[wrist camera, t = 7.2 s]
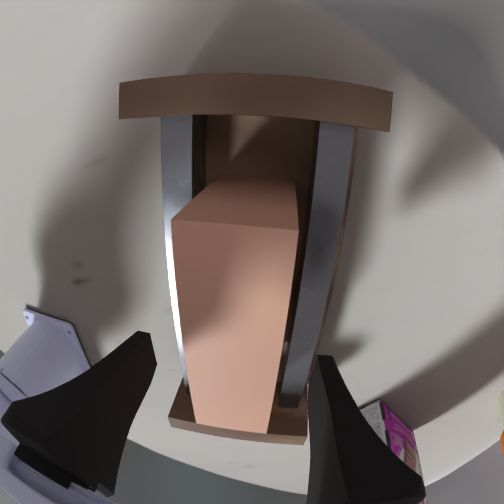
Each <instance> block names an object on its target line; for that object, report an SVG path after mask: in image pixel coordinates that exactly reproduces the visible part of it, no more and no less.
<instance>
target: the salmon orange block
mask: <svg viewBox="0 0 504 504" xmlns="http://www.w3.org/2000/svg"><path fill="white" fill-rule="evenodd" d="M298 233H299V226H298V212H297V200H296V188H295V181H288V180H277V179H265V178H252V177H237V176H220V175H219V176H218V177H217V178H216V179H215V180H214V181H212V182H211V183H210V184H209V185H208V186H207V187H206V188H205V189H203V190H202V191H201V192H200V193H199V194H198V195H197V196H196V197H194V198H193V199H192V200H191V201H190V202H189V203H188V204H187V205H186V206H185V207H183V208H182V209H181V210H180V211H179V212H178V213H177V214H176V215H175V216H174V217H173V218H172V219H171V235H172V249H173V262H174V273H175V284H176V294H177V303H178V312H179V320H180V328H181V335H182V343H183V350H184V356H185V363H186V369H187V376H188V382H189V387H190V393H191V399H192V404H193V409H194V415H195V420H196V423H198V424H203V425H208V426H214V427H219V428H226V429H232V430H239V431H247V432H255V433H265V434H266V433H267V428H268V423H269V418H270V413H271V408H272V403H273V397H274V392H275V387H276V381H277V375H278V370H279V364H280V358H281V352H282V346H283V340H284V334H285V327H286V321H287V314H288V308H289V301H290V294H291V287H292V280H293V273H294V265H295V257H296V250H297V242H298Z"/></svg>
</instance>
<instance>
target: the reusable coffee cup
mask: <svg viewBox="0 0 504 504" xmlns="http://www.w3.org/2000/svg"><path fill="white" fill-rule="evenodd" d="M496 409H497V413H498V417H499V421H500V425H501V430H502V435H501V438H500V439H501V444H502V449H503V456H504V392H503V393H502V394H501V395H500V397H499V398H498V400H497V402H496Z"/></svg>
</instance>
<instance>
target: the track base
mask: <svg viewBox="0 0 504 504" xmlns="http://www.w3.org/2000/svg"><path fill="white" fill-rule="evenodd" d="M392 97H393V92H390V91H386V90H381V89H377V88H372V87H367V86H362V85H356V84H351V83H345V82H338V81H332V80H325V79H317V78H308V77H298V76H286V75H271V74H236V73H230V74H196V75H181V76H169V77H159V78H150V79H143V80H135V81H129V82H123V83H120V88H119V119H127V118H139V117H155V116H161V161H162V192H163V211H164V227H165V240H166V252H167V263H168V273H169V283H170V291H171V300H172V308H173V315H174V323H175V330H176V336H177V343H178V349H179V355H180V361H181V367H182V373H183V378H182V381H181V384H180V386H179V389H178V391H177V394H176V397H175V399H174V402H173V405H172V407H171V410H170V413H169V415H168V419H169V422H170V425H171V427H176V428H180V429H184V430H189V431H194V432H198V433H204V434H209V435H214V436H220V437H227V438H233V439H240V440H248V441H257V442H266V443H278V444H293V445H304V443H305V441H306V438H307V427H308V392H307V384H308V381H309V378H310V374H311V371H312V367H313V364H314V360H315V357H316V353H317V349H318V346H319V342H320V338H321V334H322V330H323V326H324V322H325V318H326V314H327V310H328V306H329V302H330V297H331V293H332V288H333V284H334V279H335V274H336V270H337V265H338V260H339V255H340V249H341V244H342V239H343V233H344V228H345V222H346V216H347V210H348V203H349V197H350V190H351V183H352V176H353V168H354V160H355V151H356V142H357V133H358V127H362V128H368V129H374V130H380V131H385V132H390V122H391V110H392ZM219 175H220V176H237V177H252V178H265V179H277V180H288V181H295V188H296V200H297V212H298V226H299V233H298V242H297V250H296V257H295V265H294V273H293V280H292V287H291V294H290V301H289V308H288V314H287V321H286V327H285V334H284V340H283V346H282V352H281V358H280V364H279V370H278V375H277V381H276V387H275V392H274V397H273V403H272V408H271V413H270V418H269V423H268V428H267V433H266V434H265V433H255V432H247V431H239V430H232V429H226V428H219V427H214V426H208V425H203V424H198V423H196V420H195V415H194V409H193V404H192V399H191V393H190V387H189V382H188V376H187V369H186V363H185V356H184V350H183V343H182V335H181V328H180V320H179V312H178V303H177V294H176V284H175V273H174V262H173V249H172V235H171V219H172V218H173V217H174V216H175V215H176V214H177V213H178V212H179V211H180V210H181V209H182V208H183V207H185V206H186V205H187V204H188V203H189V202H190V201H191V200H192V199H193V198H194V197H196V196H197V195H198V194H199V193H200V192H201V191H202V190H203V189H205V188H206V187H207V186H208V185H209V184H210V183H211V182H212V181H214V180H215V179H216V178H217V177H218V176H219Z"/></svg>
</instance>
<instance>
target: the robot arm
mask: <svg viewBox="0 0 504 504" xmlns="http://www.w3.org/2000/svg"><path fill="white" fill-rule="evenodd" d="M23 314H24V316H25V318H26V321H27V323H28V325H29V328H28V329H27V330H26V331H25V332H24V333H23V334H22V335H21V336H20V337H19V339H18V340H17V341H16V342H15V343H14V344H13V345H12V346H11V348H10V349H9V350H8V351H7V352H6V353H5V354H4V356H3V357H2V358H1V359H0V487H1V488H2V489H3V490H4V491H6V492H7V493H8V494H9V495H10V496H11V497H12V498H14V499H15V500H16V501H17V502H19V503H20V504H119V503H116V502H114V501H111V500H109V499H107V498H104V497H102V496H100V495H97V494H95V493H93V492H97V493H99V494H101V495H103V496H106V497H110V496H112V495H114V491H115V484H116V479H117V473H118V469H119V464H120V460H121V456H122V452H123V449H124V445H125V442H126V439H127V436H128V433H129V430H130V427H131V424H132V422H133V419H134V417H135V415H136V413H137V411H138V409H139V407H140V405H141V403H142V401H143V399H144V397H145V395H146V392H147V390H148V388H149V386H150V384H151V381H152V378H153V376H154V372H155V369H156V366H157V362H156V358H155V354H154V349H153V345H152V341H151V336H150V333H146V332H142V331H137V332H136V333H134V334H133V335H132V336H131V337H129V338H128V339H127V340H126V341H124V342H123V343H122V344H121V345H120V346H118V347H117V348H116V349H115V350H113V351H112V352H111V353H110V354H108V355H107V356H106V357H105V358H103V359H102V360H101V361H99V362H98V363H96V364H95V365H94V366H92V367H91V368H90V366H89V363H88V361H87V359H86V357H85V354H84V352H83V350H82V347H81V345H80V342H79V340H78V337H77V335H76V332H75V330H74V327H73V326H72V324H70V323H68V322H65V321H61V320H58V319H55V318H52V317H49V316H46V315H43V314H40V313H37V312H34V311H32V310H29V309H26V308H25V309H24V310H23ZM308 419H309V434H310V456H311V457H310V473H309V484H308V494H307V502H306V504H418V503H420V502H421V501H423V500H424V498H425V497H426V493H425V486H424V483H423V480H422V476H420V475H419V474H418V473H416V472H415V471H414V470H412V469H411V468H410V467H409V466H408V465H406V464H405V463H404V462H403V461H402V460H401V459H400V458H399V457H398V456H396V455H395V454H394V452H393V451H392V450H391V449H390V448H389V447H388V446H387V445H386V444H385V443H384V442H383V441H382V440H381V438H380V437H379V436H378V435H377V433H376V432H375V431H374V430H373V428H372V427H371V426H370V424H369V423H368V422H367V420H366V419H365V417H364V416H363V414H362V413H361V411H360V409H359V408H358V406H357V405H356V403H355V401H354V399H353V398H352V396H351V394H350V392H349V390H348V389H347V387H346V385H345V383H344V381H343V379H342V377H341V374H340V372H339V370H338V368H337V365H336V363H335V361H334V358H333V357H332V356H327V355H317V358H316V361H315V365H314V368H313V372H312V375H311V378H310V382H309V385H308ZM88 489H89V490H91V491H93V492H91V491H89V490H88Z"/></svg>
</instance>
